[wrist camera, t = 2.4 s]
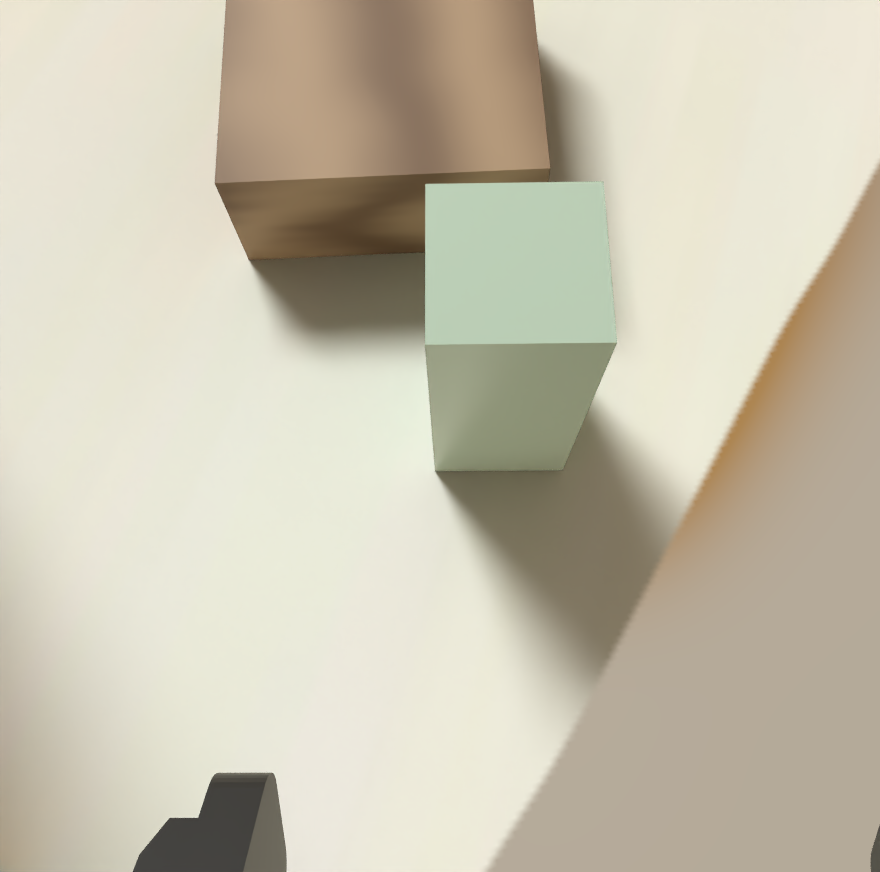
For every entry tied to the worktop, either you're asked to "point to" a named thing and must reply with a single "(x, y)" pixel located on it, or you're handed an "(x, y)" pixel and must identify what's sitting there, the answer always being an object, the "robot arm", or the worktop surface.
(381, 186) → the riser
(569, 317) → the sage green pillar
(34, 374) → the worktop surface
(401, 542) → the worktop surface
